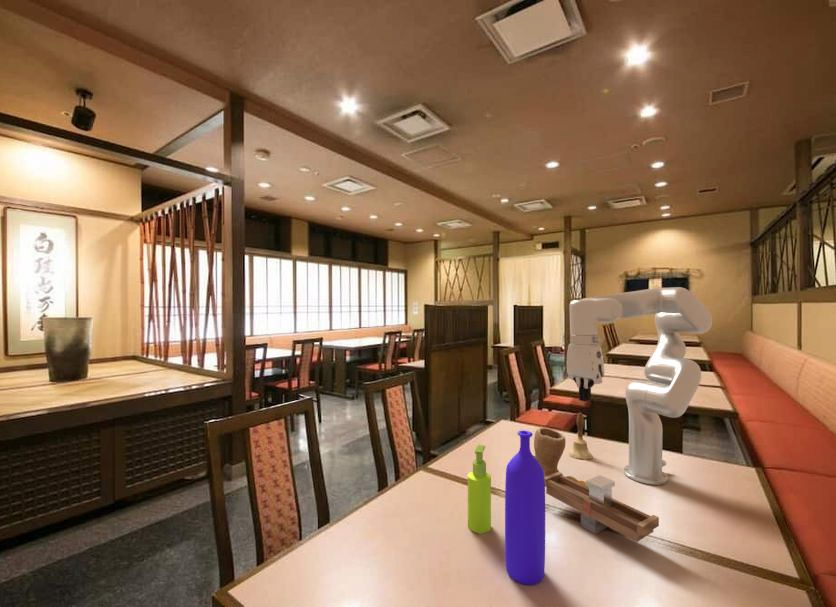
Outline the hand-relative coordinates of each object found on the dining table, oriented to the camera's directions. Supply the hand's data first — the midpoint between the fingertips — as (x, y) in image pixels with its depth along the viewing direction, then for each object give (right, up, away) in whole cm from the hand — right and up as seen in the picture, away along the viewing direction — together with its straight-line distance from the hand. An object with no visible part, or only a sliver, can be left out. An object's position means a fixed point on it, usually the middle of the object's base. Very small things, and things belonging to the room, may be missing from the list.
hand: (585, 400), depth 114 cm
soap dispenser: (-35, -28, -17) cm, 48 cm away
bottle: (-28, -28, -34) cm, 52 cm away
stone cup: (-8, -28, +12) cm, 32 cm away
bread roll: (-3, -29, +1) cm, 29 cm away
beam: (-5, -28, -17) cm, 33 cm away
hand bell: (+11, -28, +28) cm, 41 cm away
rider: (-4, -22, -19) cm, 29 cm away
